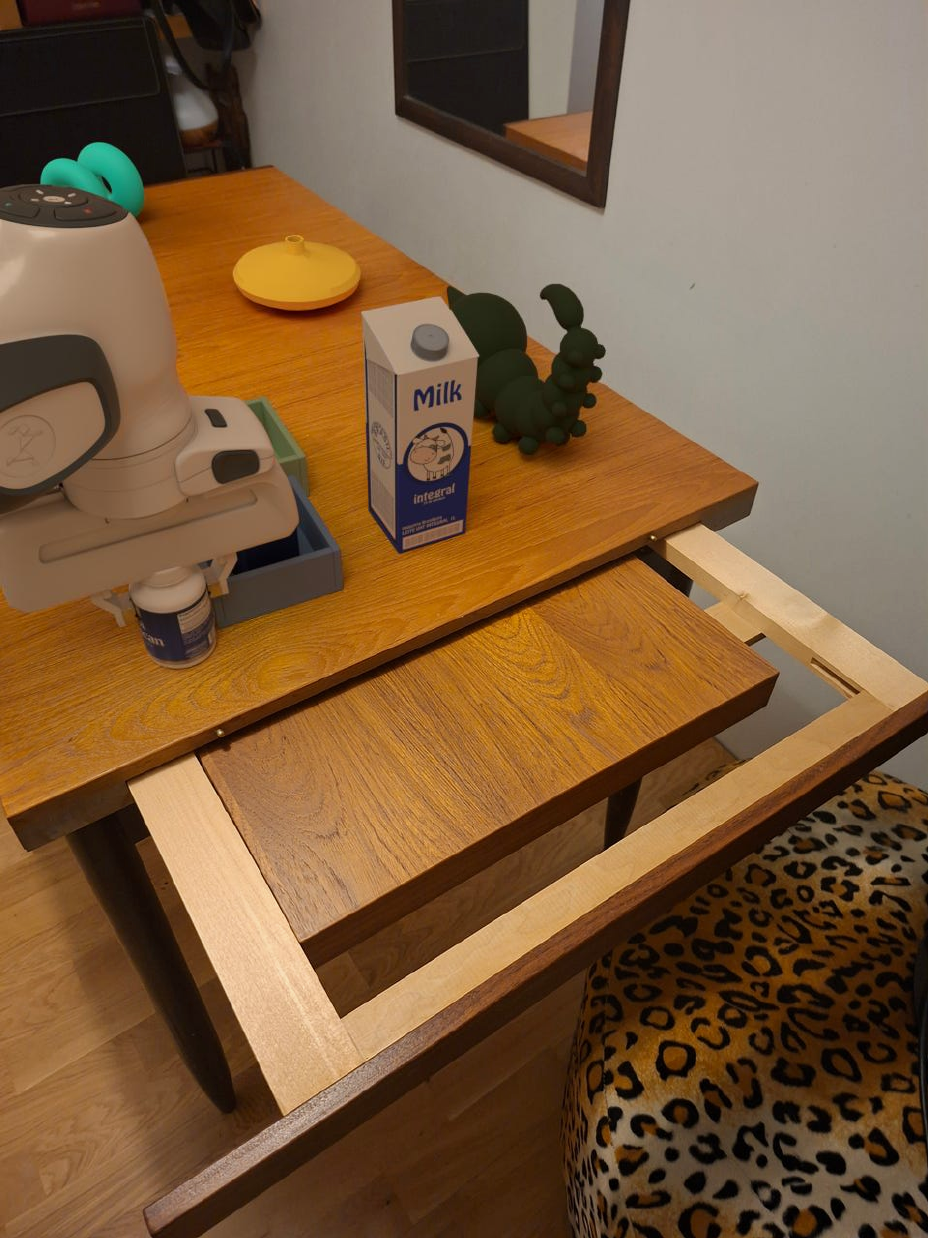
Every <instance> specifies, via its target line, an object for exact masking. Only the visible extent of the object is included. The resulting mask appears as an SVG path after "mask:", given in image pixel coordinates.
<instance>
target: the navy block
mask: <svg viewBox="0 0 928 1238" xmlns="http://www.w3.org/2000/svg"><path fill="white" fill-rule="evenodd" d="M236 555H237V561H236V563H235V565H234V567H233V569H232V571H231V572H232V573H233V574H234V575H238V574H241V573H244V572H248V571H251V570H254V569H258V568H261V567H264V566H268V565H271V564H274V563H278V562H281V561H284V560H288V559H291V558H295V557H298V556H300V552H299V543H298V534H297V527H296V528H295V530H294V531H293V533H292V534H291V535H290V536H288V537H285V538H281V539H278V540H274V541H271V542H268V543H264V544H261V545H258V546H254V547H251V548H248V549H244V550H241V551H238V552H236Z"/></svg>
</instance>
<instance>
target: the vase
mask: <svg viewBox="0 0 928 1238" xmlns="http://www.w3.org/2000/svg"><path fill="white" fill-rule="evenodd" d="M284 240H285V241H277V242H274V243H268V244H263V245H261V246H258V247H254V248H252V249H251V250H249V251H248V252H246V253H244V254H243V255H242V256H241V257H240V258H239V260H237V262H236V263H235V265H234V268H233V270H232V273H231V274H232V277H233V281H234V283H235V285H236V288H237V289H238V291H239V292H240V293H241V294H242V295H243V296H244V297H245V298H246V299H248V300H250V301H252V302H254V303H257V304H259V305H262V306H266V307H267V308H268V307H269V308H273V309H277V310H284V311H295V312H302V311H313V310H317V309H322V308H326V307H329V306H332V305H334V304H337V303H339V302H342V301H345V300H346V299H347V298H348V297H350V296H351V295H353V294H354V293H355V291H356V290H357V288H359V287H358V286H359V283H360V280H361V276H362V275H361V273H362V270H361V268H360V265H359V264H358V262H357V261H356V260H355V259H354V258H353V257H352V256H351V255H350V254H349V253H348V252H346V251H344V250H343V249H341V248H338V247H337V246H333V245H329V244H326V243H323V242H315V241H309V240H308V241H306V240H305V239H304V237H303V236H301V235H297V234H292V235H291V234H290V235H287V236H286V237H285V239H284Z"/></svg>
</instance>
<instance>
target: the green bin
mask: <svg viewBox="0 0 928 1238" xmlns="http://www.w3.org/2000/svg"><path fill="white" fill-rule="evenodd" d="M243 401H244V402H245V403H246V404H247V405H248V407H249V408H250V409H251V410H252V411H253V413H254V414H255V415H256V417H257V418H258V419H259V421H260V422H261V424H262V426H263V427H264V429H265V431H266V433H267V435H268V437H269V439H270V442H271V444H272V447H273V450H274V454H275V457H276V459H277V461H278V462H279V464H280V466H281V467H282V469H283V471H284V473H285V474H286V476H287V477H288V476H292V475H294V477H295V478H296V480H297V481H298V483H299V484H300V486H301V488H302V489H303V491H304V492H305V494H306V495H307V497H308V498H309V497H310V495H311V494H310V485H309V484H310V483H309V473H308V462H307V456H306V454H305V453H304V451H303V450H302V448H301V446H300V445H299V444H298V443H297V441H296V439H295V437H294V436H293V435H292V433H291V432H290V430H289V429H288V427H287V426H286V424H285V423H284V421H283V420H282V419H281V416H280V415H279V414H278V412H277V411H276V409H275V408H274V407H273V405H272V404H271V402H270V400H269V399H268V397H267V396H262V397H257V398H252V399H248V400H243Z"/></svg>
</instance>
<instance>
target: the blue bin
mask: <svg viewBox="0 0 928 1238" xmlns="http://www.w3.org/2000/svg"><path fill="white" fill-rule="evenodd" d="M287 478H288V480H289V482H290V485H291V488H292V491H293V494H294V497H295V501H296V505H297V510H298V515H299V523H298V525H297V534H298V543H299V552H300V556H298V557H295V558H291V559H288V560H284V561H281V562H278V563H274V564H271V565H268V566H264V567H261V568H258V569H254V570H251V571H248V572H244V573H241V574H238V575H234V574H233V573H232V572H231V573H230V575H229V576H228V578H227V579H226V581H227V586H228V590H229V593H228V594H224V595H221V596H218V597H214V598H211V599H210V597H209V600H210V605H211V610H212V616H213V620H214V624H215V625H216V627H217V629H223V628H227V627H231V626H233V625H236V624H239V623H242V622H245V621H248V620H251V619H255V618H258V617H261V616H264V615H267V614H270V613H273V612H276V611H280V610H282V609H287V608H289V607H292V606H295V605H298V604H301V603H305V602H308V601H311V600H314V599H317V598H321V597H323V596H327V595H330V594H333V593H337V592H339V591H342V590H344V575H343V574H344V573H343V560H342V548H341V546H340V545H339V544H338V543H337V541H336V539H335V538H334V536H333V535H332V533H331V532H330V530H329V528H328V527H327V525H326V523H325V522H324V521H323V519H322V517H321V515H320V513H318V511H317V509H316V508H315V506H314V505H313V503H312V501H311V500H310V499H309V496H308V497H307V495H306V494H305V492H304V491H303V489H302V488H301V486H300V484H299V483H298V481H297V480H296V478H295V477H294V475H292V476H288V477H287ZM212 561H213V559H211V560H208V561H204V562H201V563H198V564H197V565H198V566H199V567H200V568H201V570H202V569H205V568H208V567H211V564H212ZM208 596H209V595H208Z"/></svg>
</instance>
